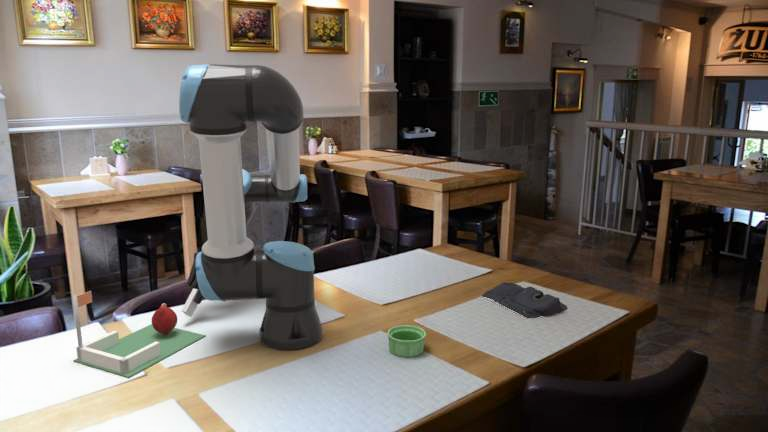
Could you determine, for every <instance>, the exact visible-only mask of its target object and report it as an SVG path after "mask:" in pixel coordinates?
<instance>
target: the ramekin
mask: <svg viewBox="0 0 768 432" xmlns="http://www.w3.org/2000/svg"><path fill="white" fill-rule="evenodd" d="M386 334H387V337H388V338H387V339H388V349H389V352H392V353H391V354H393V355H394V354H395V356H397V357H400V356H401V358H413V357H417V356H420V355H421V354H422V353H423V352H424V348H425V339H426V337H427V333H426V331H425V329H423V328H422V327H419V326H416V325H412V324H410V325H409V324H403V325H396V326H393V327H391V328H389V329H388V330H387V333H386Z"/></svg>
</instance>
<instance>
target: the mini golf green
mask: <svg viewBox="0 0 768 432" xmlns="http://www.w3.org/2000/svg"><path fill="white" fill-rule="evenodd" d="M72 301H73V310H74V311H73V312H74V319H75V325H76V326H75V328H76V335H77V336H76V337H77V344H78V346H77V347H76V354H77V355H76V356H77V358H78V360H79V361H83V362H86V363H89V364H93V365H96V366H99V367H103V368H106V369H109V370H113V371H116V372H119V373H123V374H125V373H127V372H129V371H131V370H133V369H135V368H137V367H139V366H140V365H142V364H144V363H146V362H148V361H150V360H152V359H154V358H156V357H157V356H159V355H161V351H160V342H154V343H152V344H150V345H148V346H146V347H144V348H142V349H140V350H138V351H136V352H134V353H132V354H130V355H128V356H126V357H120V356H117V355H113V354H110V353H106V352H103V351H104V350H107V349H109V348H111V347H113V346H115V345H117V344H119V339H120V338H119V331H117V330H113V331H111V332H108V333H105V334H104V335H101V336H100V337H97V338H95V339H93V340H90V341H88V342H86V343H84V344H83V338H82V331H81V330H82V328H81V322H80V321H81V319H80V312H79V308H80V307H83V306H86V305H88V304H91V303H93V295H92V290H89V291H87V292H83V293H82V294H78V295H76V294H74V295H72Z"/></svg>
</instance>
